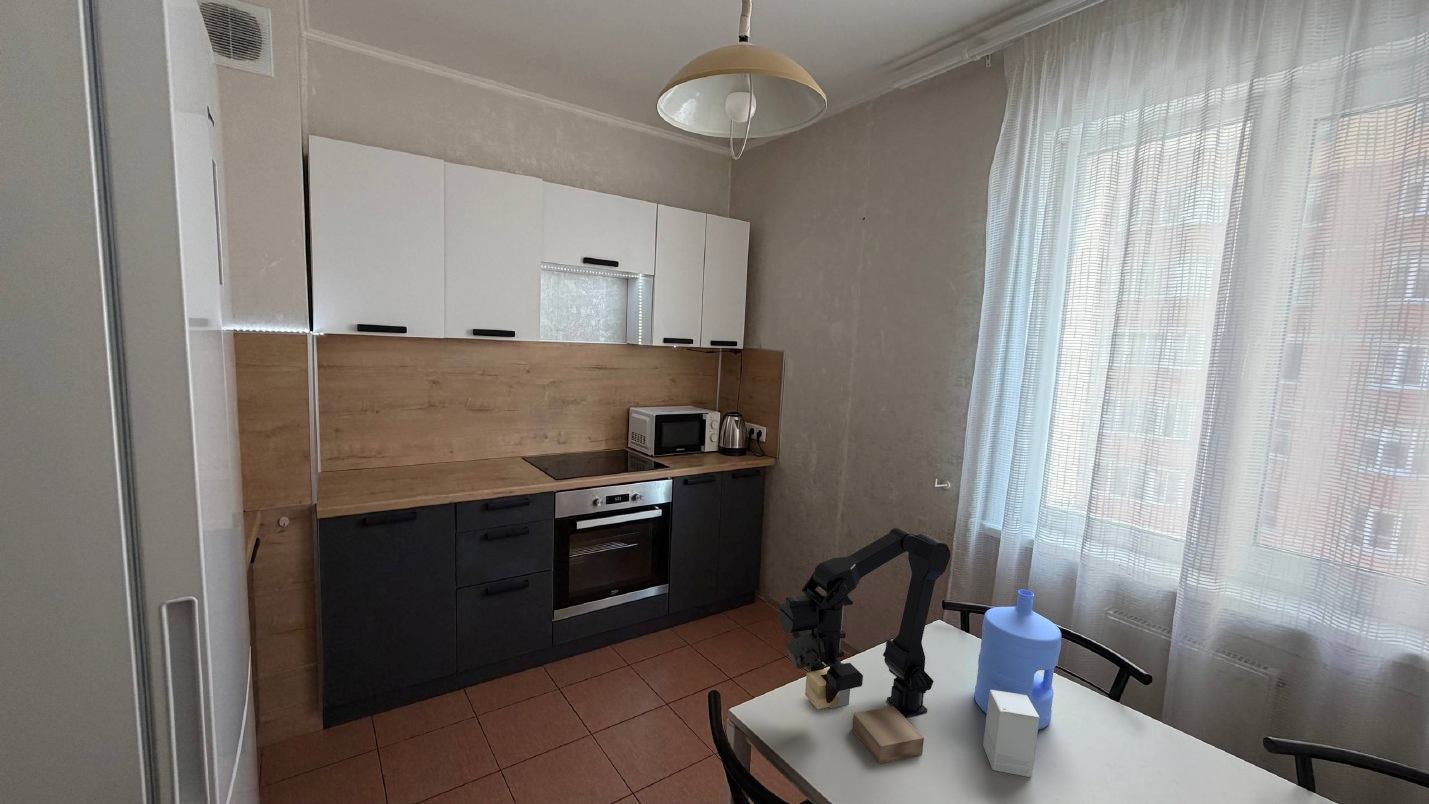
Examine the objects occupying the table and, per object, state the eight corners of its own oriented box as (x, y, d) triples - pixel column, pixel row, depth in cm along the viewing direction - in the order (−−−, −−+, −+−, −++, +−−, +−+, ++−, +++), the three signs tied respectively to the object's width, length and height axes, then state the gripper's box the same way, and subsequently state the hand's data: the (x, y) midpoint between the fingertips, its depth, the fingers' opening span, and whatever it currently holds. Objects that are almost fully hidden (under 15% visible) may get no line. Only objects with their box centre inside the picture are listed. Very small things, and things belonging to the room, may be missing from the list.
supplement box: (1032, 778, 110) (1041, 718, 109) (991, 770, 112) (999, 710, 110) (1020, 751, 118) (1028, 694, 116) (981, 744, 119) (988, 688, 117)
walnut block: (892, 723, 125) (893, 706, 124) (922, 756, 115) (924, 737, 115) (851, 730, 121) (853, 713, 121) (879, 765, 112) (880, 746, 112)
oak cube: (825, 690, 124) (826, 668, 123) (838, 704, 119) (840, 682, 119) (805, 694, 122) (806, 672, 121) (817, 709, 117) (819, 686, 117)
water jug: (975, 719, 127) (989, 599, 123) (972, 680, 141) (985, 572, 138) (1055, 741, 121) (1073, 616, 118) (1044, 699, 136) (1059, 586, 132)
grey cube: (836, 691, 134) (838, 671, 134) (848, 704, 130) (850, 684, 129) (817, 695, 132) (819, 675, 132) (829, 709, 128) (831, 688, 127)
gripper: (772, 608, 124) (767, 675, 126) (818, 655, 107) (811, 732, 109) (816, 602, 128) (811, 667, 130) (867, 646, 111) (860, 720, 113)
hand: (821, 694), depth 121 cm, fingers closed on oak cube, 5 cm apart
